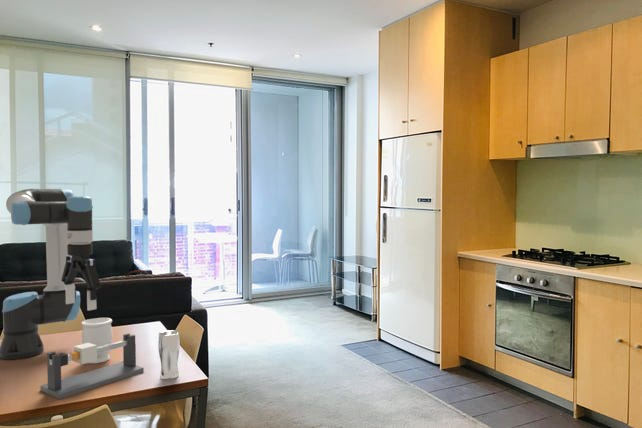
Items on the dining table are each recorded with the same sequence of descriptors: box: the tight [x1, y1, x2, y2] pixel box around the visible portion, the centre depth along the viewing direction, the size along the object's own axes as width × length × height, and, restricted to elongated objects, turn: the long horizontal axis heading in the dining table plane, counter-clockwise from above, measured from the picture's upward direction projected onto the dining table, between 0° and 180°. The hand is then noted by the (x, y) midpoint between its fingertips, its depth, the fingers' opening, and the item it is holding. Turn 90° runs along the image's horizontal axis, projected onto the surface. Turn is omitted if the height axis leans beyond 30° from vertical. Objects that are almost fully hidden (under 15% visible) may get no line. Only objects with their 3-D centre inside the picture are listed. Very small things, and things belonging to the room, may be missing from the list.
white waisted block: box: [157, 329, 181, 381], centre depth 168 cm, size 7×7×15 cm
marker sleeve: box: [73, 343, 97, 365], centre depth 161 cm, size 5×5×5 cm
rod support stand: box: [39, 333, 145, 400], centre depth 164 cm, size 12×29×12 cm, turn 144°
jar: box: [81, 317, 113, 365], centre depth 185 cm, size 11×10×15 cm
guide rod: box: [49, 339, 128, 367], centre depth 164 cm, size 3×28×3 cm, turn 144°
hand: (80, 306), depth 164 cm, fingers open, 13 cm apart
